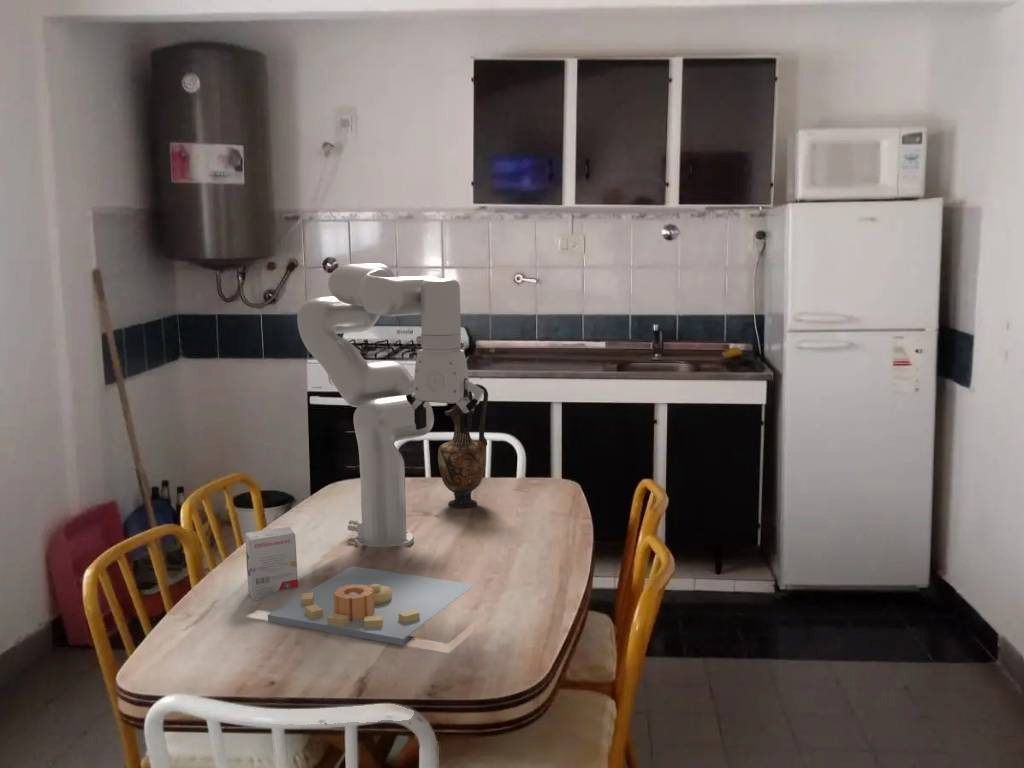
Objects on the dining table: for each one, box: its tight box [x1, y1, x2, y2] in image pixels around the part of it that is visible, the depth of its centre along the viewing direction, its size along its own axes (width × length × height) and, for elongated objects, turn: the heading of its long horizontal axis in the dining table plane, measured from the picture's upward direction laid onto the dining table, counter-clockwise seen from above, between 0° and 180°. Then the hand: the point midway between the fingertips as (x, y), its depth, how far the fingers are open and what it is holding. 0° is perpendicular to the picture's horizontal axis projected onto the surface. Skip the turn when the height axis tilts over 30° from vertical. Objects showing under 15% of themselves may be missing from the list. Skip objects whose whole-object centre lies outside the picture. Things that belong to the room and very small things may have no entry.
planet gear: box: [334, 584, 374, 621], centre depth 174 cm, size 7×7×4 cm
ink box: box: [244, 526, 299, 601], centre depth 187 cm, size 9×5×12 cm, turn 116°
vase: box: [437, 383, 489, 509], centre depth 243 cm, size 12×12×30 cm
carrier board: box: [267, 565, 475, 647], centre depth 181 cm, size 27×27×5 cm
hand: (443, 430), depth 196 cm, fingers open, 9 cm apart
